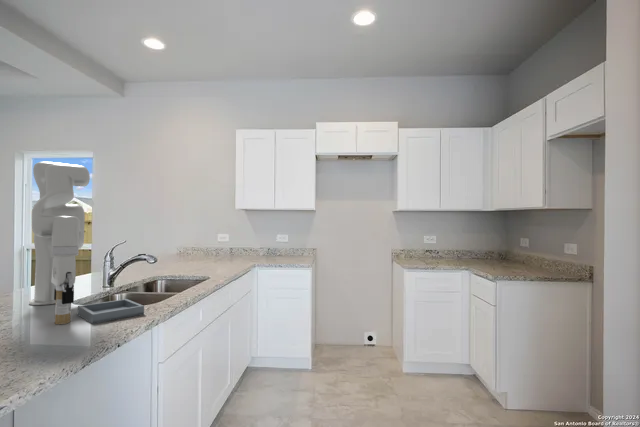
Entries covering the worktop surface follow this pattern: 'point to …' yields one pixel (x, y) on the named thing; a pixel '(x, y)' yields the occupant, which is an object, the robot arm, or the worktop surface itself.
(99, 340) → the worktop surface
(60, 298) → the sprinkles bottle
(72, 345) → the worktop surface
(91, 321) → the tray
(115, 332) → the worktop surface
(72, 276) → the robot arm
